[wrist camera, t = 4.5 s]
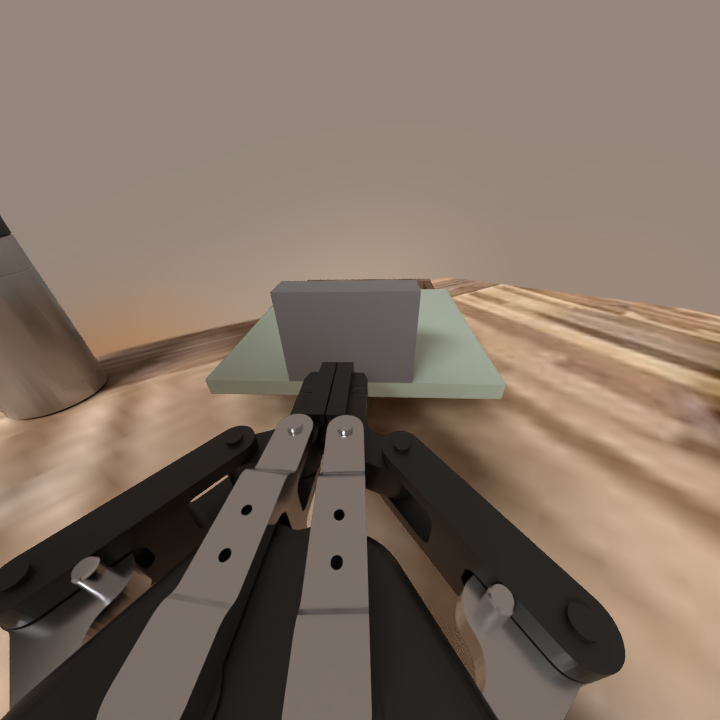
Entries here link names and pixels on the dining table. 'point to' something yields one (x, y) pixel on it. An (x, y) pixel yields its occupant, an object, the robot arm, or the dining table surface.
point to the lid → (361, 342)
